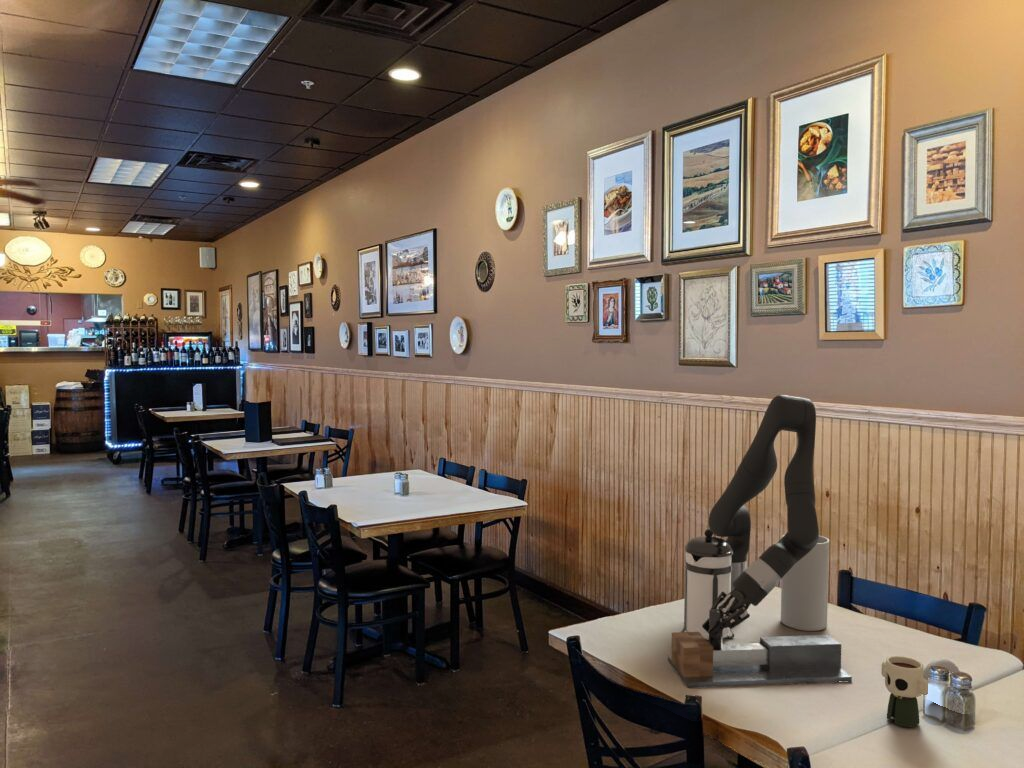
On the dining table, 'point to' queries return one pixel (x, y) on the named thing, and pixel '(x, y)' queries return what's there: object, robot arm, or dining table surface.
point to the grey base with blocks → (781, 664)
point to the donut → (942, 663)
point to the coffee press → (705, 579)
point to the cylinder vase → (807, 590)
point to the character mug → (904, 689)
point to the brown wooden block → (692, 654)
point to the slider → (735, 648)
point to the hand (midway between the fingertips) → (707, 632)
